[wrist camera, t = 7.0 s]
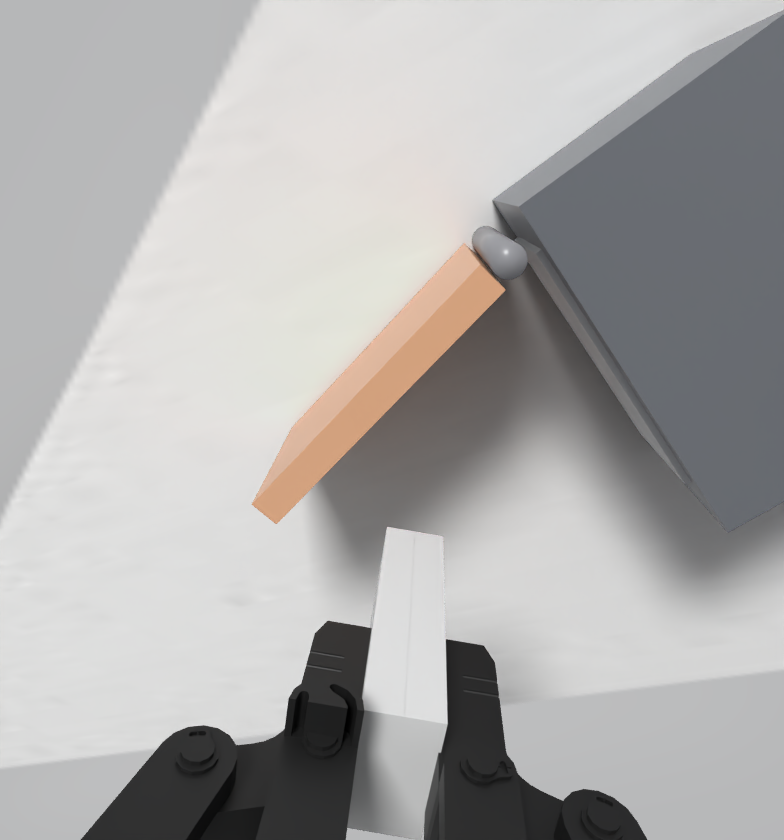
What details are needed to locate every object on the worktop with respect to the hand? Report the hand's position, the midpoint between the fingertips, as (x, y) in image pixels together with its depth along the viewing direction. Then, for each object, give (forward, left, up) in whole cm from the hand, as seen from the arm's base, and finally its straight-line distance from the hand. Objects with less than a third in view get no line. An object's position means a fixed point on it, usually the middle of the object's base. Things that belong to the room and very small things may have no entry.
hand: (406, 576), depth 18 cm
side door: (+4, -2, -10) cm, 11 cm away
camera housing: (0, -12, -11) cm, 16 cm away
